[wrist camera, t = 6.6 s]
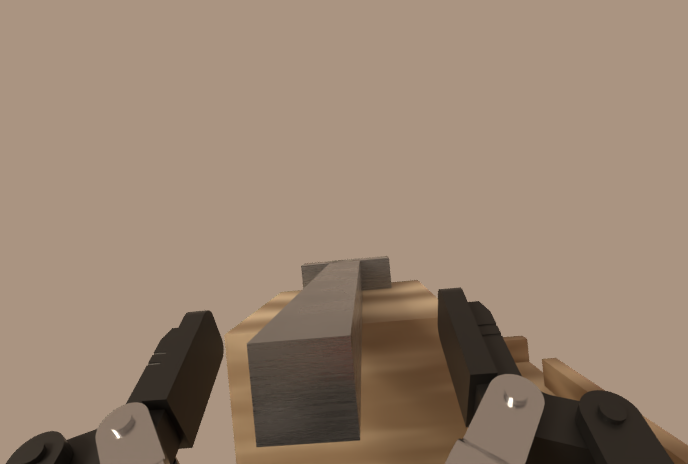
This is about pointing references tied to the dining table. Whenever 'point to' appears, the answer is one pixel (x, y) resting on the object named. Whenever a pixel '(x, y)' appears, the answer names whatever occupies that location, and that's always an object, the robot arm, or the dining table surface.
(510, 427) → the robot arm
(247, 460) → the stand
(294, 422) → the t handle
